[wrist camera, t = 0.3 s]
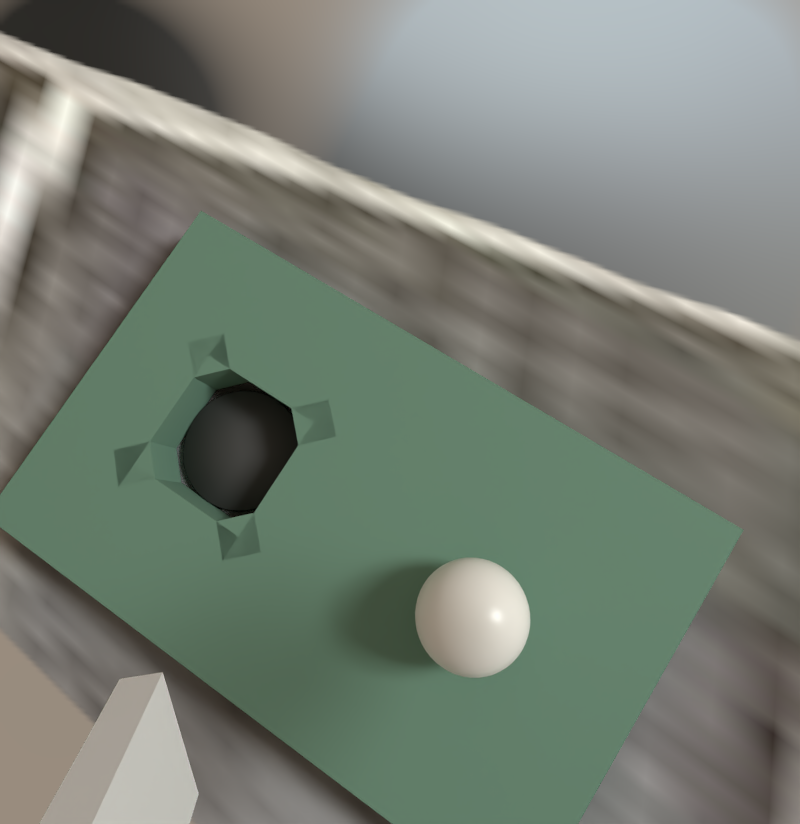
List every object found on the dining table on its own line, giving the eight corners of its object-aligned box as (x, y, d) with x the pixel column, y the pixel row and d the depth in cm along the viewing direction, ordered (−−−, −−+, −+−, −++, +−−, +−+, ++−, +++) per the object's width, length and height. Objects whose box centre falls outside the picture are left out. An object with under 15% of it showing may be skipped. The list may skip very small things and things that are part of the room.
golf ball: (540, 643, 23) (556, 667, 20) (439, 678, 24) (435, 709, 20) (501, 540, 24) (509, 543, 20) (404, 575, 24) (393, 584, 20)
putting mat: (716, 529, 26) (743, 529, 23) (516, 882, 24) (522, 922, 22) (221, 236, 30) (201, 210, 28) (25, 516, 29) (-15, 515, 26)
